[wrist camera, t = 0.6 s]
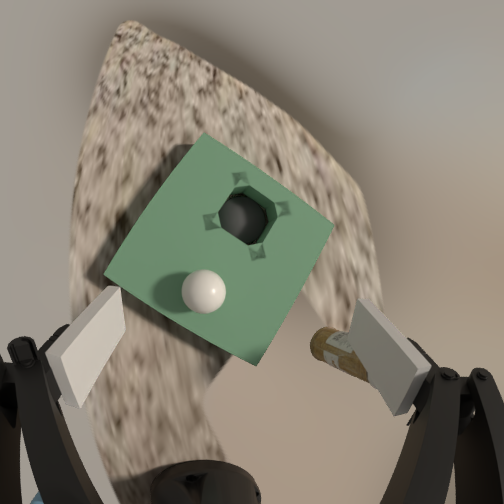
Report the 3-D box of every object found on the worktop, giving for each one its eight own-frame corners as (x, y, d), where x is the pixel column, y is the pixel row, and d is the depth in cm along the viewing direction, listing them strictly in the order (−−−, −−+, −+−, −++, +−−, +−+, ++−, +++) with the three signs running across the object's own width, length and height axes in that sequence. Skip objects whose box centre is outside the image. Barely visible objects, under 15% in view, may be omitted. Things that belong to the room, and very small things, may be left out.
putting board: (248, 358, 31) (256, 366, 28) (110, 274, 27) (103, 274, 24) (321, 228, 34) (334, 225, 31) (200, 144, 31) (204, 132, 28)
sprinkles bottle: (306, 360, 32) (375, 398, 20) (311, 325, 33) (385, 348, 20) (337, 359, 34) (409, 389, 21) (341, 325, 34) (418, 344, 21)
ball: (208, 318, 27) (214, 325, 23) (173, 296, 26) (173, 300, 22) (229, 283, 28) (238, 285, 24) (194, 261, 27) (198, 259, 23)
